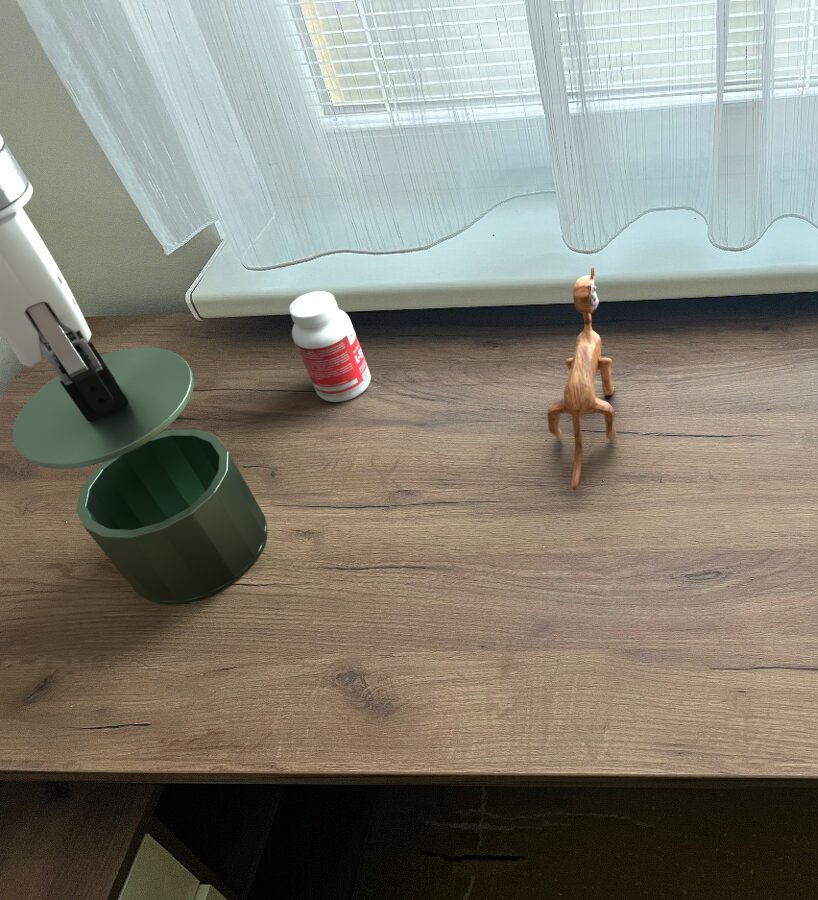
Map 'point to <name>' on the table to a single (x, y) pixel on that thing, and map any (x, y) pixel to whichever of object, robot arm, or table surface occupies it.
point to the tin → (174, 517)
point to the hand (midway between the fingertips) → (101, 399)
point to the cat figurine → (584, 377)
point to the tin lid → (88, 443)
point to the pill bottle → (328, 347)
